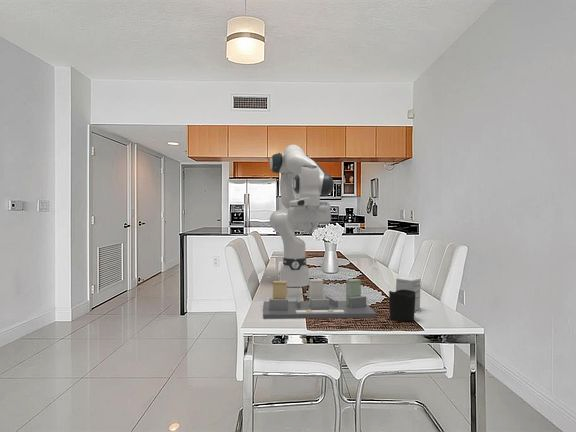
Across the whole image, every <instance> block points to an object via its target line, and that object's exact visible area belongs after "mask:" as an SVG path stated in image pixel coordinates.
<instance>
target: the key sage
mask: <svg viewBox="0 0 576 432" xmlns="http://www.w3.org/2000/svg"><path fill="white" fill-rule="evenodd" d="M357 296H362V280H361V279H360V278H354V279H353V278H351V279H346V280H345V301H346V305H348V306H349V297H357Z"/></svg>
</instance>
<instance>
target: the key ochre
mask: <svg viewBox="0 0 576 432" xmlns="http://www.w3.org/2000/svg"><path fill="white" fill-rule="evenodd" d="M272 299H288V291H287V281H279V280H273V281H272Z"/></svg>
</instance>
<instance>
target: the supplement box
mask: <svg viewBox="0 0 576 432" xmlns="http://www.w3.org/2000/svg"><path fill="white" fill-rule="evenodd" d="M421 279H422V278H419V277H413V276H405V275H404V276H400V277H397V278H396V280H395V282H396V283H395V292H396V291H398V290H411V291H414V292H415V293H416V294H415V312H416V311H419V310H420V308H421V283H422V281H421Z"/></svg>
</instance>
